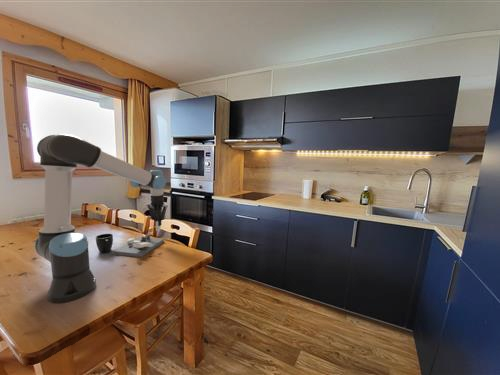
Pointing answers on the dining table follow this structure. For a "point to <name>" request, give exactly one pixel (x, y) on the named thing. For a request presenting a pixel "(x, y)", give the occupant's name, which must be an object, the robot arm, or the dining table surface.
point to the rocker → (141, 245)
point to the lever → (149, 232)
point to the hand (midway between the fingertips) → (158, 230)
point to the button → (130, 241)
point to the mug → (104, 242)
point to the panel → (138, 252)
